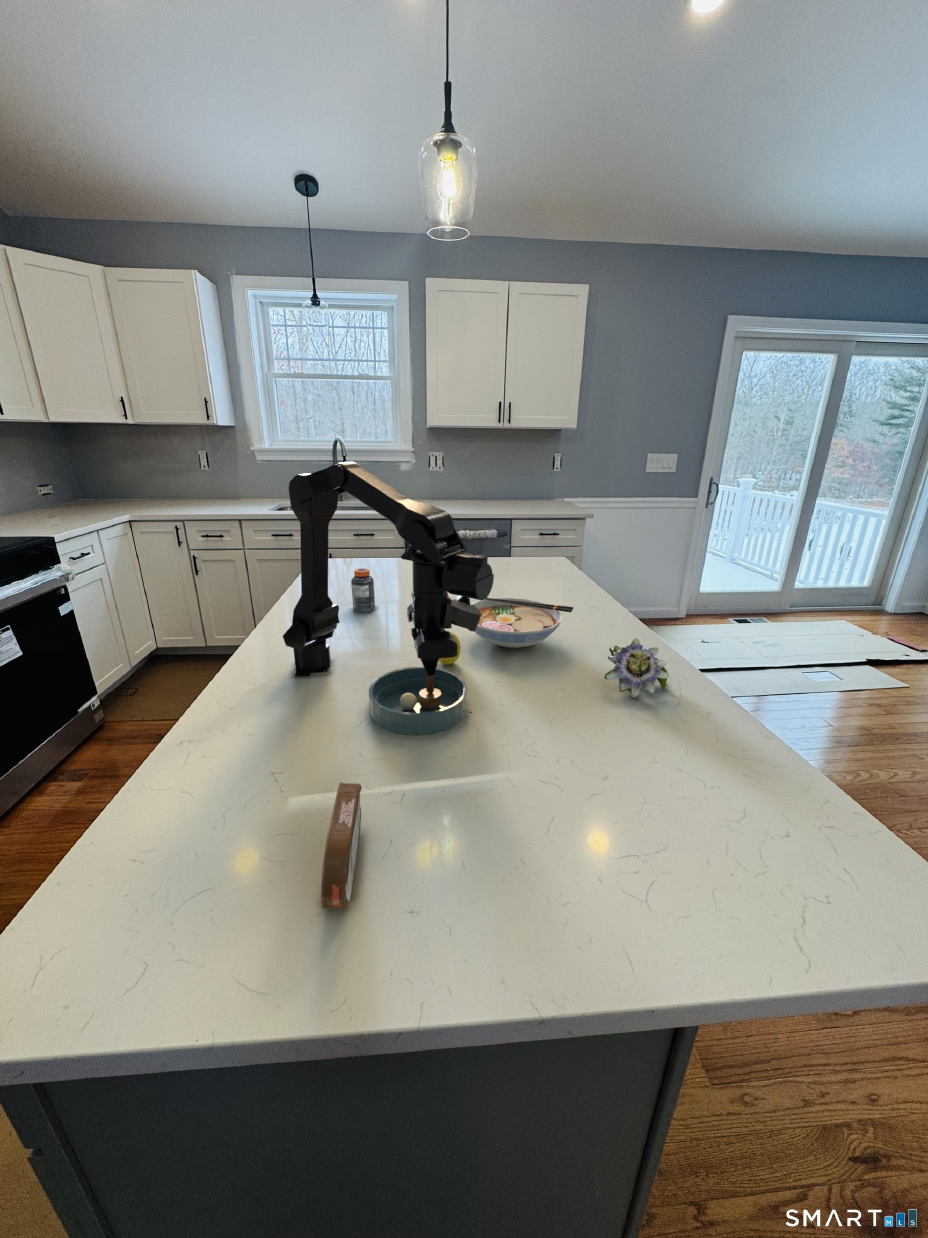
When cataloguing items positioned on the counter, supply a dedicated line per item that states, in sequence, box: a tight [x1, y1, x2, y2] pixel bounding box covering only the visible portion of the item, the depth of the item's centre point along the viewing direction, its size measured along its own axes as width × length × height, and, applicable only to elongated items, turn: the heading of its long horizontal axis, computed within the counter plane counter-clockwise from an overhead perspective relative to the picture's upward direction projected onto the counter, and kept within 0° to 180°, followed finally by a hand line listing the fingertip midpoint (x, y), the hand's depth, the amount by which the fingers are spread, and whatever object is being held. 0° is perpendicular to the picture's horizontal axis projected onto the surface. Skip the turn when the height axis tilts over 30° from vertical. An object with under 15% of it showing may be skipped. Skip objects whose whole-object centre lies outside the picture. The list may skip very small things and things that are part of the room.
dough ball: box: [400, 693, 417, 710], centre depth 90 cm, size 3×3×3 cm
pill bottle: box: [350, 567, 376, 613], centre depth 138 cm, size 6×6×11 cm
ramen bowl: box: [470, 597, 574, 649], centre depth 119 cm, size 25×23×8 cm
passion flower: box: [603, 637, 670, 699], centre depth 100 cm, size 11×11×12 cm
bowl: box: [368, 666, 468, 736], centre depth 90 cm, size 17×17×4 cm
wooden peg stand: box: [419, 672, 442, 708], centre depth 89 cm, size 4×4×11 cm
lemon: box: [438, 630, 461, 666], centre depth 107 cm, size 6×6×8 cm
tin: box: [320, 781, 362, 911], centre depth 57 cm, size 15×3×8 cm, turn 5°
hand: (430, 673), depth 89 cm, fingers closed on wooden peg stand
